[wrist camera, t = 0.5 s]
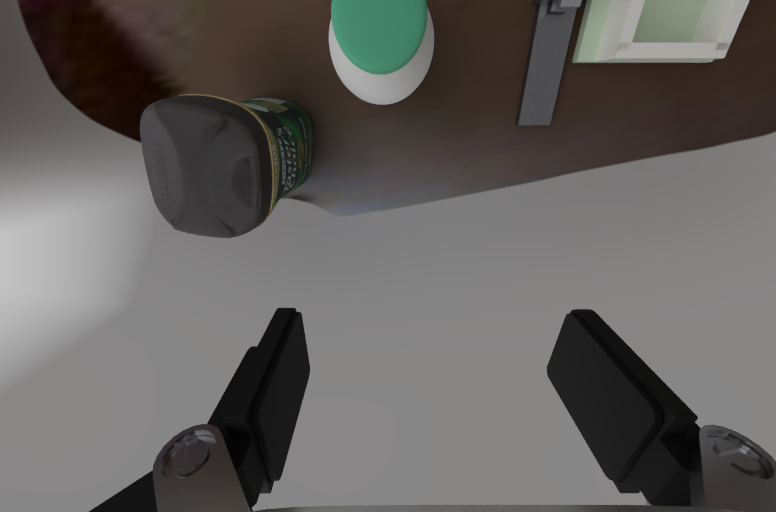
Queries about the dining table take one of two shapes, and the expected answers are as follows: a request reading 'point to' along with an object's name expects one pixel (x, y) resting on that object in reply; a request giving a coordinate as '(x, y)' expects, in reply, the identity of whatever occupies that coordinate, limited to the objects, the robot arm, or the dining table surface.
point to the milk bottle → (381, 47)
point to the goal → (706, 43)
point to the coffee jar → (223, 160)
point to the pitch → (641, 26)
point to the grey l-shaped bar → (565, 5)
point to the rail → (544, 63)
